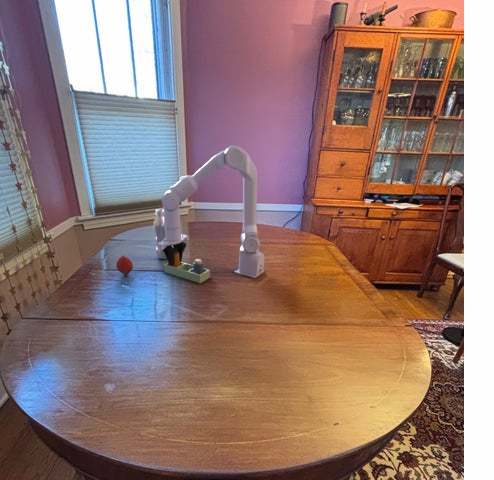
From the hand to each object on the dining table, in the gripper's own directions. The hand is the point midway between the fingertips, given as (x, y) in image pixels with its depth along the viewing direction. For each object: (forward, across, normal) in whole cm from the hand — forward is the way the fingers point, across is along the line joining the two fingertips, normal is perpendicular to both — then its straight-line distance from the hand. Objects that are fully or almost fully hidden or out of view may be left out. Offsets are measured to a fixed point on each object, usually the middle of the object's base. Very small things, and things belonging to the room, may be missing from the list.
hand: (175, 263), depth 114 cm
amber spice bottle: (+2, 0, 0) cm, 2 cm away
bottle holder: (+4, 0, +6) cm, 7 cm away
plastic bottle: (+4, -9, -14) cm, 17 cm away
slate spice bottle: (+3, 0, +11) cm, 12 cm away
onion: (+4, +13, -13) cm, 19 cm away
